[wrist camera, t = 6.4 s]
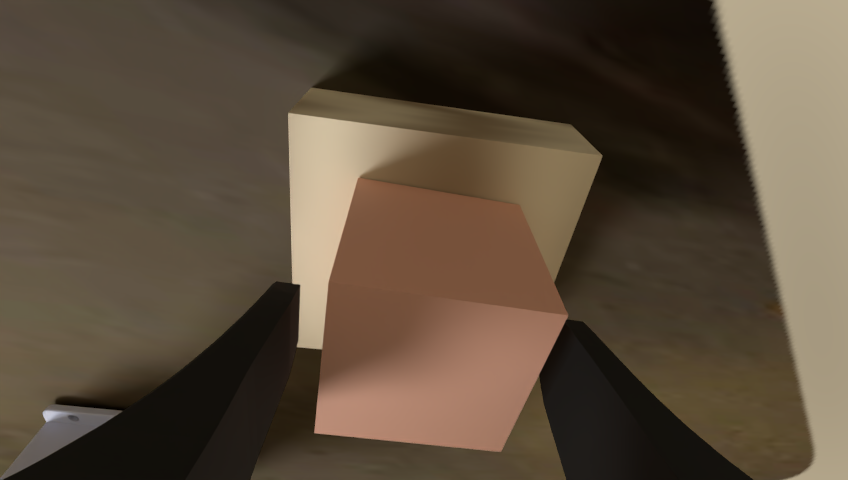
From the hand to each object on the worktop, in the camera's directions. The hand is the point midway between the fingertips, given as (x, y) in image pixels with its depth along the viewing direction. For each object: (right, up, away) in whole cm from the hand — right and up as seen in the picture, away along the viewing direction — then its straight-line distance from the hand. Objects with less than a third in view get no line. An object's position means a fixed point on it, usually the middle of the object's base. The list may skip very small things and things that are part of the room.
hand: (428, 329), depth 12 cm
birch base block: (0, +4, +6) cm, 7 cm away
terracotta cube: (0, +2, +2) cm, 3 cm away
